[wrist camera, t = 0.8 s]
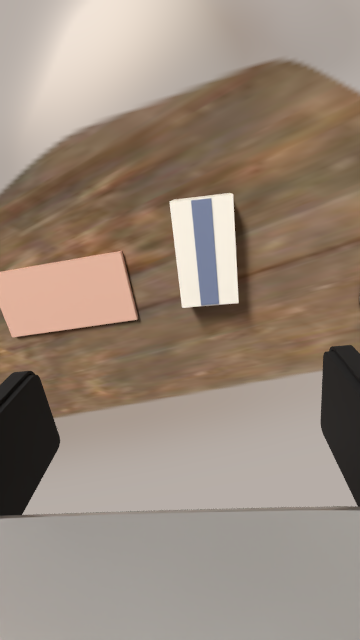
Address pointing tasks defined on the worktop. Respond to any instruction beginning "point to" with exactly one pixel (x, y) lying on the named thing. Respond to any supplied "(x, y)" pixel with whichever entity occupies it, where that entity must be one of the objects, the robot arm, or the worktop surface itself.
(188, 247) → the card box
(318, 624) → the robot arm
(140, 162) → the worktop surface
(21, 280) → the mat
